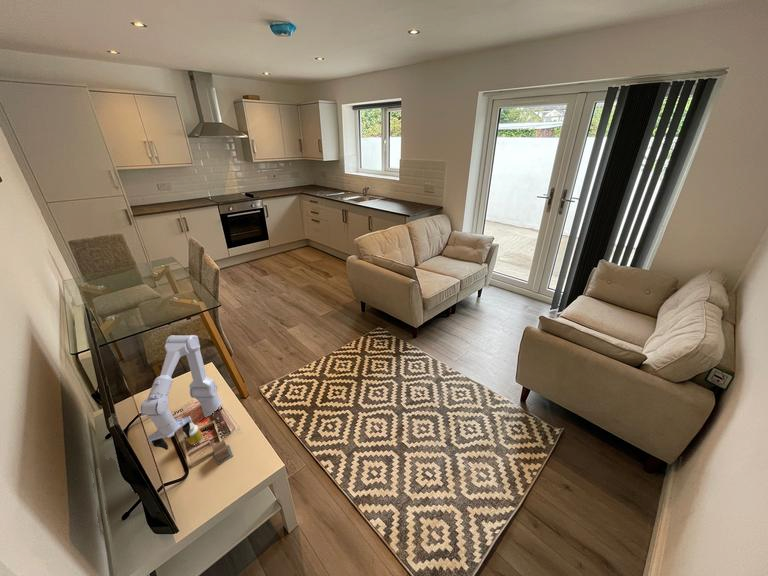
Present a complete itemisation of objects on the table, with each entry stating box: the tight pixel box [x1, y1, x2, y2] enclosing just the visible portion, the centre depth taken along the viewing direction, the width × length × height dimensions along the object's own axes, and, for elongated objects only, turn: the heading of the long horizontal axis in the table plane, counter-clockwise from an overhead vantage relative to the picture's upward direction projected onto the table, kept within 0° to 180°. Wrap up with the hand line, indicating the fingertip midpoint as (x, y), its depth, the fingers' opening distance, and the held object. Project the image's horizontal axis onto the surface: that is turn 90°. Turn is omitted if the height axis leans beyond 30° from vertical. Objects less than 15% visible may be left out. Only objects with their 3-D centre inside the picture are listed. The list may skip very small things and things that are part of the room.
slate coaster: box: [213, 444, 234, 466], centre depth 126 cm, size 6×6×1 cm
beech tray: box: [181, 420, 222, 469], centre depth 130 cm, size 15×13×2 cm
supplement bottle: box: [183, 422, 204, 446], centre depth 130 cm, size 5×5×10 cm
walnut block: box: [212, 439, 231, 462], centre depth 125 cm, size 4×4×6 cm
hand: (178, 441), depth 121 cm, fingers open, 7 cm apart
